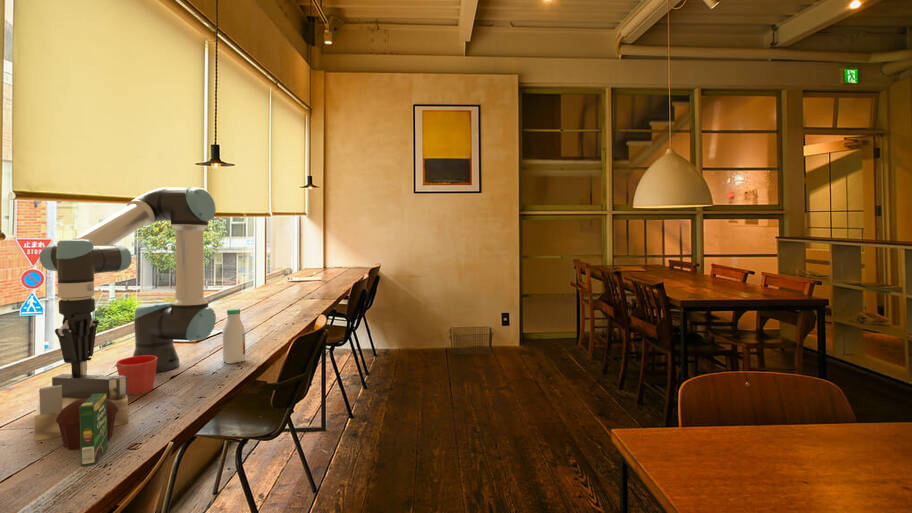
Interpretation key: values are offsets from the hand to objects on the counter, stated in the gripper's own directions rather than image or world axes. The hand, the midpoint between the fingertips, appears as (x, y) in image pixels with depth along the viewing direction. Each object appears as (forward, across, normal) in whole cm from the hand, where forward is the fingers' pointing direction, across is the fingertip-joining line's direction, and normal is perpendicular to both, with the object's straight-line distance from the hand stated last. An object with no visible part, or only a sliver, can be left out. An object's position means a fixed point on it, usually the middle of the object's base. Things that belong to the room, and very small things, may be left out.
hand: (80, 386), depth 127 cm
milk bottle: (+9, +54, -19) cm, 58 cm away
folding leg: (+2, -3, -5) cm, 6 cm away
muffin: (+8, -16, -13) cm, 23 cm away
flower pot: (+8, +20, -3) cm, 22 cm away
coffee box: (+8, -25, -20) cm, 33 cm away
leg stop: (+2, -14, -3) cm, 14 cm away
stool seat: (+8, -1, -2) cm, 8 cm away
